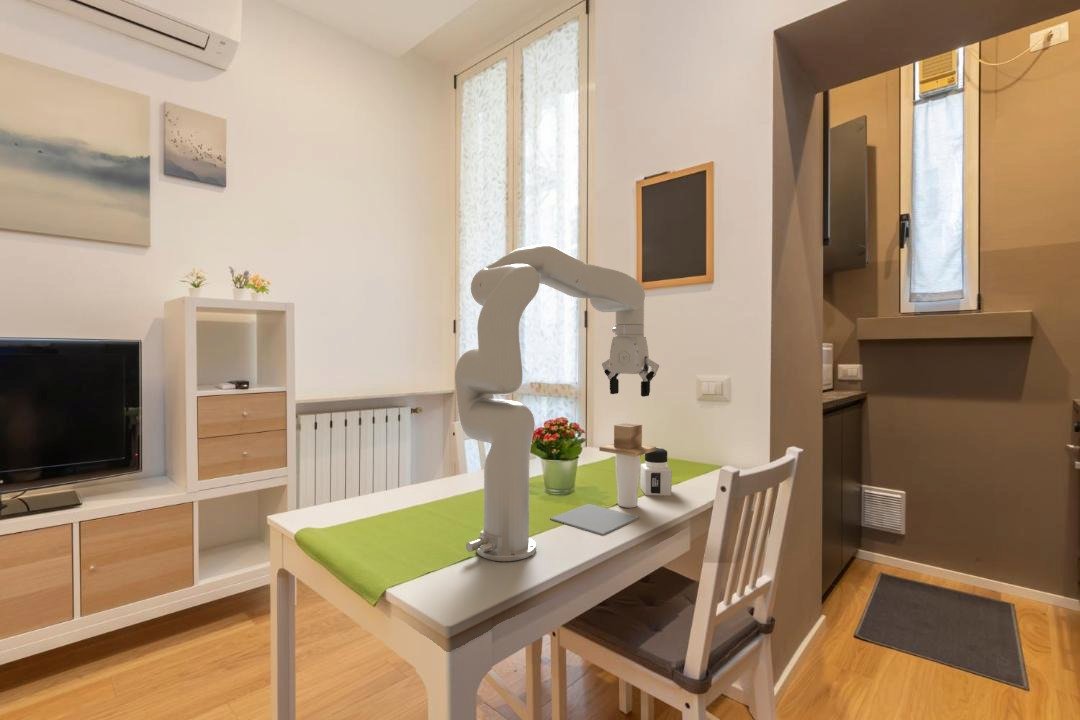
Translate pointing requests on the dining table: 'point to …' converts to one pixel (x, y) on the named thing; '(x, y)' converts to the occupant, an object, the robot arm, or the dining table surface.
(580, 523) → the mat
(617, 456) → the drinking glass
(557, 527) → the dining table surface
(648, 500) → the dining table surface
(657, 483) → the container
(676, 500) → the dining table surface
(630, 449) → the lid
